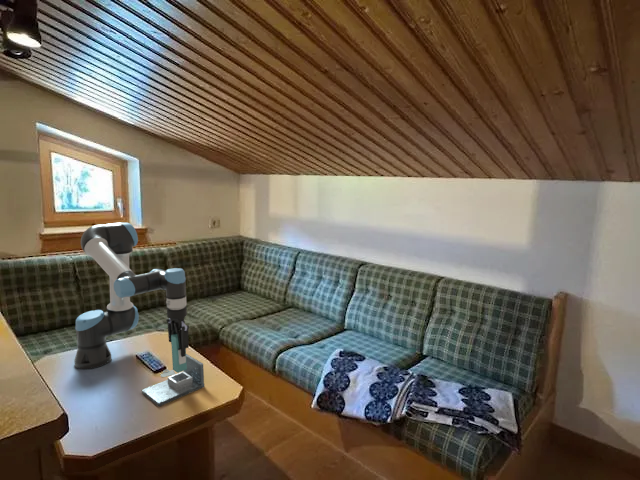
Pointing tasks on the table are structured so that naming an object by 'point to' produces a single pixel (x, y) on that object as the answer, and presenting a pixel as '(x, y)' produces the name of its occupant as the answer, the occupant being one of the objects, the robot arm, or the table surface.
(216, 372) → the table surface
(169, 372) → the mounting bracket
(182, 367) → the teal block
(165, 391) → the cup bracket
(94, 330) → the robot arm
